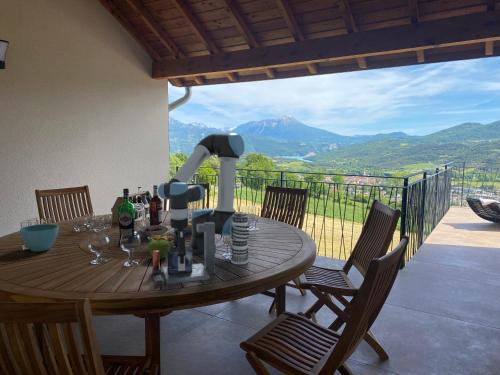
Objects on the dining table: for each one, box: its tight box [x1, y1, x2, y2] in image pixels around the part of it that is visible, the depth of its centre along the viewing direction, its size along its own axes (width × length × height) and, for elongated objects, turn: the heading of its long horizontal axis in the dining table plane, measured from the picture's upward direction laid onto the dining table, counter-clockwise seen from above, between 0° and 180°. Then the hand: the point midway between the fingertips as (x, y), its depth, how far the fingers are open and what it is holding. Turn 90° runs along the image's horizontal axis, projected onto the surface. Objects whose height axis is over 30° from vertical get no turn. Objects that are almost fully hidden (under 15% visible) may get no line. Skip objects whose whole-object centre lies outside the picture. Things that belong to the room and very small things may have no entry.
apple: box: [147, 239, 171, 260], centre depth 177 cm, size 11×10×10 cm
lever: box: [151, 250, 162, 275], centre depth 154 cm, size 4×4×10 cm
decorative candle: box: [230, 211, 250, 265], centre depth 173 cm, size 9×9×25 cm
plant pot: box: [19, 223, 60, 253], centre depth 189 cm, size 18×18×12 cm
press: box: [152, 222, 216, 288], centre depth 153 cm, size 18×26×23 cm
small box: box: [167, 245, 193, 274], centre depth 153 cm, size 11×6×10 cm, turn 107°
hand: (179, 265), depth 153 cm, fingers open, 13 cm apart
